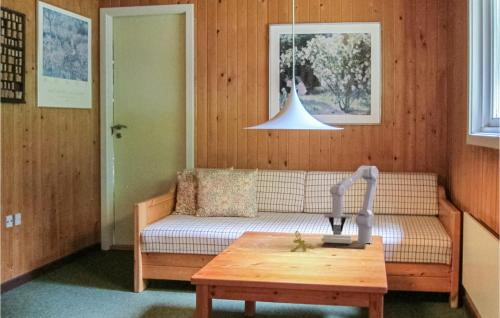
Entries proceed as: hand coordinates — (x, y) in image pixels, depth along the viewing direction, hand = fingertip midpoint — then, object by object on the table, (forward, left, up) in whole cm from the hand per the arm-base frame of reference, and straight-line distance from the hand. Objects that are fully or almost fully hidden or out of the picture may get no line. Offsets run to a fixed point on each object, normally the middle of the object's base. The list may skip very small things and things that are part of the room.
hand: (337, 231), depth 301 cm
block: (0, 0, -2) cm, 2 cm away
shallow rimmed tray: (-1, 0, -7) cm, 7 cm away
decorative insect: (+19, -16, -9) cm, 27 cm away
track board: (-1, +4, -8) cm, 9 cm away
